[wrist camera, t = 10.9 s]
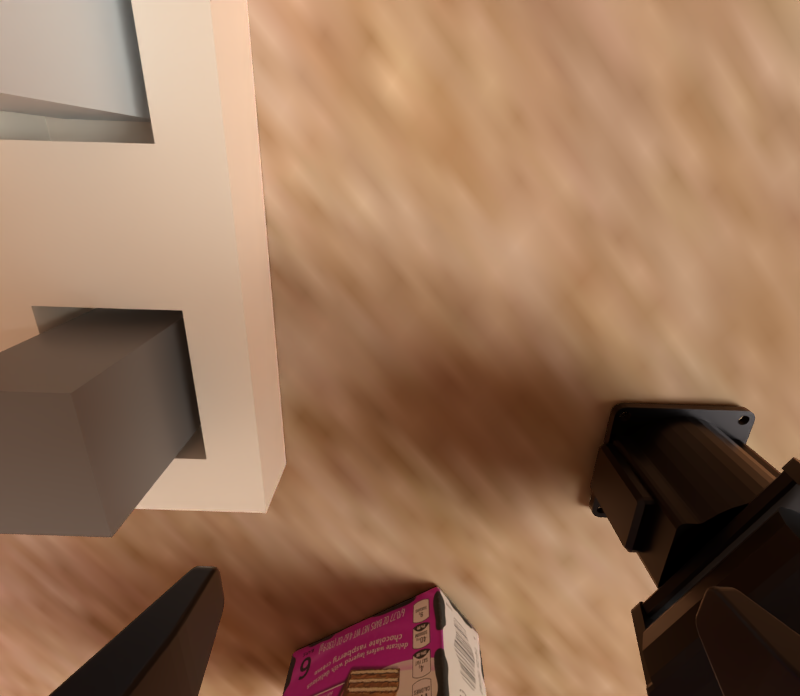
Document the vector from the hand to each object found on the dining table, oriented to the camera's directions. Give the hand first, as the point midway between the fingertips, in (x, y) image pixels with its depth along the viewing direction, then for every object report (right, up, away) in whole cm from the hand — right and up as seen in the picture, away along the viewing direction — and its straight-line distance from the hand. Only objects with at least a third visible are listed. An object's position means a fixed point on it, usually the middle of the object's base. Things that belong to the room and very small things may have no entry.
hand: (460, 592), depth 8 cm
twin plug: (-12, +4, +12) cm, 17 cm away
